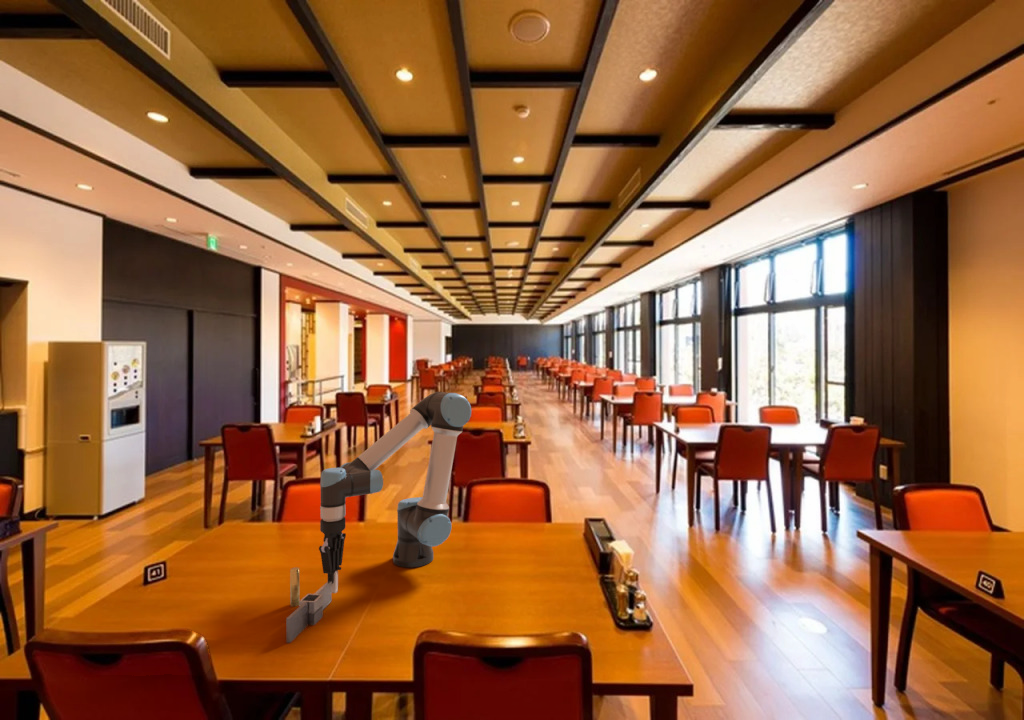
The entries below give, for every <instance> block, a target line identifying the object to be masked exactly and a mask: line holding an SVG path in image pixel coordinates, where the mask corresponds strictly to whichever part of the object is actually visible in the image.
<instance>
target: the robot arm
mask: <svg viewBox="0 0 1024 720" xmlns="http://www.w3.org/2000/svg"><path fill="white" fill-rule="evenodd" d="M409 411H410V412H409V414H407V415H406V416H405V417H403V419H401V420H400V421H399V422H397V424H396V425H394V426H393V427H392V428H390V429H389V430H388V431H386V432H385V434H383V435H382V436H381V437H380V438H378V439H377V441H375V442H374V443H373V444H371V446H369V447H368V448H367V449H366V450H364V451H363V452H362V453H361V454H359V455H358V456H357V457H356V458H355V459H353V460H352V461H351V462H349V461H348V462H346V463H343V464H342V465H340V466H339V467H331V468H330V467H329V468H325V469H323V470H322V471H321V474H320V482H319V483H320V484H319V486H320V507H319V509H320V520H319V522H320V524H319V525H320V526H319V527H320V532H321V533H322V534H323V535H324V536H323V544H322V545H320V546H318V551H319V553H320V558H321V565H322V573H323V574H327V582H328V581H332V594H337V593H338V592H339V589H338V588H339V587H338V586H339V571H341V570H342V567H341V566H342V565H343V564H342V563H343V555H344V547H345V539H346V535H347V534H346V533H344V532H343V531H344V530H345V529H346V515H347V514H346V503H347V502H346V499H347V498H350V497H357V496H363V495H364V496H365V495H372V494H375V493H379V492H381V491H382V490H383V486H384V478H383V474H382V472H381V470H379V469H378V468H379V467H380V466H381V465H382V464H383V463H384V462H386V461H387V460H388V459H389V458H390V457H391V456H392V455H393V454H395V453H397V452H398V450H400V449H401V448H402V447H403V446H404V445H405V444H407V443H408V442H409V441H410V440H411V439H412V438H414V437H415V436H416V435H417V434H418V433H419V432H420V431H422V430H423V429H428V428H431V429H432V431H433V436H432V437H433V438H432V442H431V449H430V454H429V461H428V466H427V470H426V471H427V472H426V477H425V482H424V486H423V492H422V493H423V494H422V497H409V498H405V499H401V500H400V501H399V502H398V503H397V510H396V511H397V512H396V513H397V541H396V545H395V548H394V551H393V554H392V562H393V564H394V565H396V566H398V567H401V568H409V569H410V568H419V567H423V566H425V565H428V564H430V563H431V562H432V561H433V560H434V549H433V547H438V546H439V545H442V544H443V543H444V542H446V541H447V539H448V538H449V537H450V535H451V531H452V528H453V527H452V521H451V519H450V517H448V516H449V512H450V511H449V510H450V506H449V504H448V503H447V497H448V492H449V487H450V480H451V475H452V469H453V465H454V464H453V463H454V459H455V452H456V446H457V440H458V437H459V435H460V434H462V433H463V429H464V426H465V425H466V424H468V423H469V421H470V419H471V417H472V406H471V403H470V402H469V400H468V399H467V398H466V397H465V396H463V395H462V394H459V393H457V392H445V391H435V392H433V393H430V394H429V395H427V396H425V397H424V398H423V399H421V400H420V401H419V402H418V403H416V404H415V405H414V406H413V407H412V408H411V409H410V410H409Z"/></svg>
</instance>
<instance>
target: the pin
mask: <svg viewBox="0 0 1024 720" xmlns="http://www.w3.org/2000/svg"><path fill="white" fill-rule="evenodd" d="M289 571H290V572H289V575H290V576H289V581H290V582H289V584H290V586H289V587H290V589H289V590H290V593H289V594H290V595H289V597H290V600H289V601H290V602H289V603H290V607H292V608H293V607H297V606H298V607H299V601H300V600H301V599H300V593H301V592H300V591H301V589H300V567H298V566H297V567H292V568H290V570H289Z"/></svg>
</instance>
